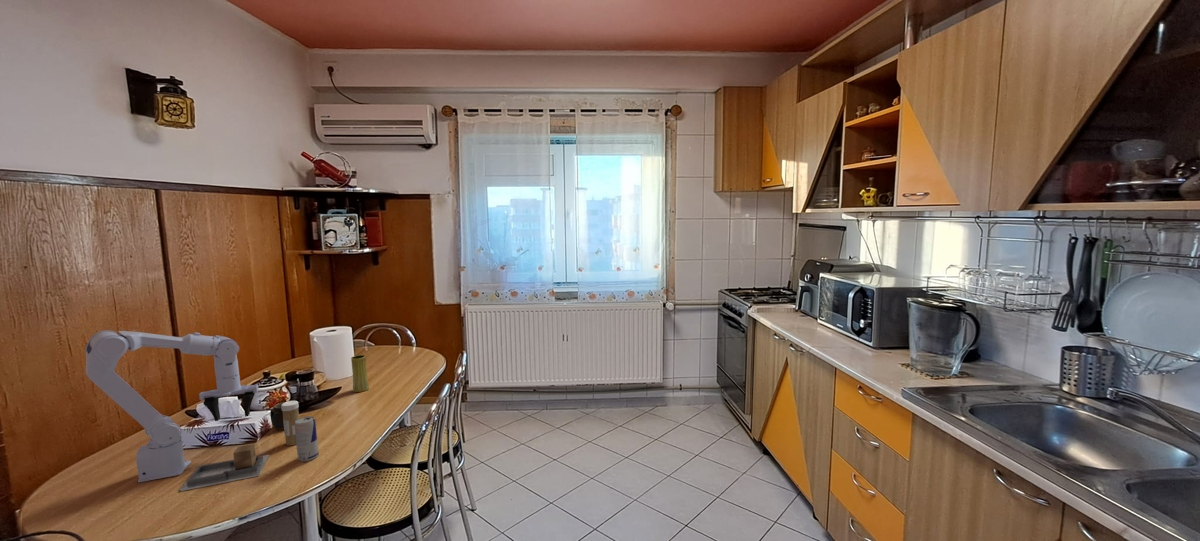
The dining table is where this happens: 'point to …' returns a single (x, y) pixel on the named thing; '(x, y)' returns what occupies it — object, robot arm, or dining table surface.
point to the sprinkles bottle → (290, 420)
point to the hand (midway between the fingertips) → (232, 417)
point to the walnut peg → (244, 456)
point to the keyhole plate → (223, 473)
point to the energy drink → (306, 438)
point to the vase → (359, 373)
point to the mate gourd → (278, 416)
